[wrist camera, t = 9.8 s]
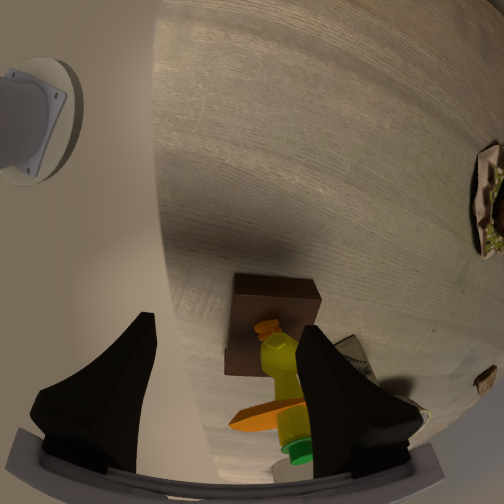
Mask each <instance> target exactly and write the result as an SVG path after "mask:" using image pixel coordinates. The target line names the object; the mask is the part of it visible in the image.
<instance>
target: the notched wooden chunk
mask: <svg viewBox="0 0 504 504" xmlns="http://www.w3.org/2000/svg"><path fill="white" fill-rule="evenodd" d="M496 371H497V366H492V367H491V368H490V369H489V370H488V371H487V372H486V373H484V374H483V375H481V376H480V377H478V378H477V379H476V387H477V391H478V394H479V395H480V396H484V395H485V394H486V393H487V392H488V391H489V390H490V389H491V387H492V386H493V383H494V380H495V376H496Z"/></svg>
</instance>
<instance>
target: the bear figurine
mask: <svg viewBox="0 0 504 504" xmlns="http://www.w3.org/2000/svg"><path fill="white" fill-rule="evenodd" d="M474 202H475V205H474V207H473V212H474V214H475V215H476V217H477V224H476V225H477V227H478V230H479V236H480V243H481V251H482V258H484V259H485V260H486V259H488V258H489V257H490V256H491V255H493V254H494V253H499V254H502V253H504V143H502V144H499V145H495V146H493V147H491V148H489V149H487V150H485V151H483V152H481V153H479V154H478V190H477V193H476V196H475V199H474ZM474 202H473V204H474ZM472 206H473V205H472Z"/></svg>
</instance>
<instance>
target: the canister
mask: <svg viewBox="0 0 504 504" xmlns="http://www.w3.org/2000/svg"><path fill="white" fill-rule="evenodd" d="M272 472H273V480H274V483H284V482H294V481H302V480H310V479H313V460H312V461H310V462H308V463H305V464H301V465H291V463H290V458H286V459H284V460H281V461H279V462H277V463H276V464H274V465H273V467H272ZM298 497H301V496H298Z"/></svg>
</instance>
